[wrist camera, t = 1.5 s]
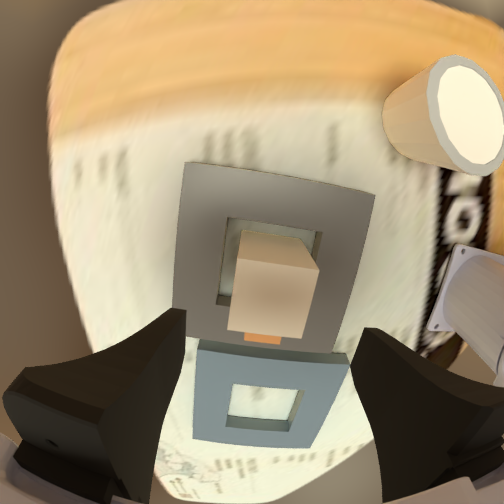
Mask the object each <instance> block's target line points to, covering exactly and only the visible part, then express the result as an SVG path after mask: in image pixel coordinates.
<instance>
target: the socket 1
mask: <svg viewBox="0 0 504 504" xmlns="http://www.w3.org/2000/svg"><path fill="white" fill-rule="evenodd" d="M374 199H375V195H373V194H370V193H367V192H363V191H358V190H354V189H349V188H345V187H340V186H336V185H331V184H326V183H321V182H317V181H311V180H306V179H301V178H296V177H290V176H285V175H279V174H273V173H267V172H261V171H254V170H248V169H241V168H234V167H227V166H219V165H211V164H203V163H194V162H185V165H184V173H183V180H182V189H181V197H180V206H179V216H178V227H177V238H176V250H175V264H174V280H173V299H172V308H177V309H184V310H187V313H186V336H187V337H193V338H199V339H205V340H211V341H217V342H224V343H231V344H238V345H245V346H253V347H262V348H270V349H280V350H290V351H301V352H314V353H328V354H331V352H332V349H333V347H334V344H335V341H336V338H337V335H338V332H339V329H340V326H341V323H342V320H343V317H344V314H345V311H346V308H347V305H348V301H349V298H350V295H351V291H352V288H353V285H354V281H355V278H356V274H357V270H358V267H359V263H360V259H361V255H362V252H363V248H364V244H365V240H366V235H367V231H368V227H369V223H370V218H371V214H372V209H373V204H374ZM228 217H230V218H237V219H243V220H250V221H257V222H263V223H269V224H276V225H282V226H288V227H294V228H300V229H306V230H312V231H317V233H316V238H315V242H314V247H313V252H312V256H311V257H312V258H313V260H314V262H315V263H316V265H317V267H318V268H319V274H318V278H317V282H316V286H315V290H314V294H313V298H312V302H311V306H310V309H309V313H308V317H307V320H306V324H305V328H304V331H303V335H302V338H301V339H299V338H289V337H281V341H280V345H279V344H270V343H261V342H253V341H245V340H244V332H239V331H232V330H227V327H228V319H229V312H230V305H231V298H232V297H227V296H220V295H218V292H219V284H220V276H221V268H222V260H223V252H224V245H225V237H226V230H227V223H228Z"/></svg>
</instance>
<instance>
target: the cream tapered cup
mask: <svg viewBox="0 0 504 504" xmlns="http://www.w3.org/2000/svg"><path fill="white" fill-rule="evenodd" d="M382 120H383V128H384V131H385V133H386V135H387V137H388V139H389V142H390V143H391V144H392V145H393V146H394V148H395V149H396V150H397V151H398V152H399V153H400V154H402V155H404V156H406V157H408V158H410V159H411V160H415V161H420V162H424V163H428V164H432V165H436V166H440V167H444V168H448V169H451V170H455V171H459V172H462V173H466V174H469V175H478V176H487V175H489V174H490V173H492V172H493V171H495V170H497V169H498V168H499V167H500V165H501V163H502V161H503V160H504V101H503V99H502V96H501V93H500V91H499V89H498V88H497V86H496V85H495V83H494V82H493V80H492V79H491V78H490V76H489V75H488V73H487V72H486V71H484V70H483V69H482V68H481V67H480V66H479V65H477V64H476V63H475V62H474V61H472V60H470V59H468V58H465V57H462V56H458V55H451V56H447V57H443V58H440V59H438V60H437V61H435V62H434V63H432V64H431V65H429V66H428V67H426V68H425V69H424V70H422V71H421V72H419V73H418V74H416V75H415V76H413V77H412V78H410V79H409V80H408V81H406V82H405V83H403V84H402V85H400V86H399V87H398V88H396V89H395V90H393V91H392V93H391V94H390V95H389V96H388V97H387V98H386V100H385V102H384V106H383V110H382Z"/></svg>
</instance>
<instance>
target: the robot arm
mask: <svg viewBox="0 0 504 504" xmlns="http://www.w3.org/2000/svg"><path fill="white" fill-rule="evenodd" d="M462 249H463V251H462ZM461 251H462V252H461ZM186 313H187V310H184V309H177V308H170V309H169V310H167V311H166V312H164V313H163V314H162V315H160V316H159V317H158V318H156V319H155V320H154V321H152V322H151V323H150V324H148V325H147V326H145V327H144V328H143V329H141V330H140V331H138V332H136V333H135V334H133V335H132V336H130V337H128V338H127V339H125V340H123V341H121V342H119V343H117V344H115V345H113V346H111V347H109V348H107V349H105V350H102V351H99V352H97V353H94V354H91V355H88V356H86V357H82V358H79V359H76V360H72V361H68V362H63V363H58V364H52V365H45V366H35V367H25V368H24V369H23V370H22V372H21V373H20V374H19V375H18V376H17V377H16V379H15V380H14V381H13V382H12V383H11V385H10V386H9V387H8V388H7V390H6V391H5V392H4V394H3V397H2V399H3V404H4V408H5V410H6V412H7V414H8V416H9V418H10V419H11V421H12V423H13V425H14V426H15V428H16V429H17V431H18V433H19V434H20V436H21V438H22V439H23V440H22V442H21V444H20V445H19V446H18V445H17V444H16V443H15V442H13V441H12V440H11V439H9V438H8V437H6V436H5V435H3V434H2V433H0V504H149V499H150V491H151V484H152V477H153V471H154V465H155V459H156V454H157V449H158V443H159V439H160V434H161V429H162V425H163V421H164V418H165V415H166V412H167V409H168V406H169V404H170V401H171V398H172V395H173V392H174V390H175V387H176V384H177V381H178V379H179V376H180V373H181V369H182V364H183V360H184V355H185V339H186ZM436 324H437V325H436ZM435 325H436V326H435ZM434 326H435V327H434ZM426 327H427V329H428V330H429V331H456V332H457V333H458V334H459V335H460V336H461V337H462V338H463V339H464V340H465V342H466V343H467V344H468V345H469V346H470V347H471V348H472V349H473V350H474V351H475V352H476V353H477V354H478V355H479V356H480V357H481V358H482V359H483V360H484V361H485V362H486V363H487V364H488V366H489V367H490V368H491V369H492V370H493V371H494V372H495V374H496V375H497V377H496V379H495V381H494V383H493V384H494V386H492V385H488V384H483V383H480V382H476V381H473V380H470V379H467V378H465V377H462V376H459V375H457V374H454V373H452V372H450V371H448V370H446V369H444V368H442V367H440V366H438V365H436V364H434V363H432V362H431V361H429V360H427V359H426V358H424V357H422V356H421V355H419V354H417V353H416V352H414V351H413V350H411V349H410V348H408V347H407V346H405V345H404V344H402V343H401V342H399V341H398V340H396V339H395V338H393V337H392V336H390V335H389V334H387V333H385V332H384V331H382V330H380V329H378V328H365V327H364V330H363V333H362V336H361V338H360V341H359V344H358V347H357V349H356V352H355V354H354V357H353V360H352V362H351V365H350V368H351V373H352V377H353V381H354V385H355V388H356V391H357V393H358V396H359V398H360V401H361V403H362V406H363V408H364V410H365V413H366V415H367V418H368V421H369V423H370V426H371V429H372V432H373V436H374V440H375V444H376V449H377V454H378V459H379V465H380V473H381V482H382V499H383V503H382V504H504V450H503V449H502V447H501V445H503V443H504V439H503V438H502V435H503V434H504V256H503V255H499V254H496V253H492V252H488V251H485V250H481V249H478V248H474V247H470V246H466V245H462V244H456V245H455V246H454V248H453V251H452V255H451V258H450V262H449V265H448V268H447V271H446V274H445V277H444V280H443V283H442V286H441V289H440V292H439V295H438V297H437V300H436V303H435V305H434V308H433V310H432V313H431V315H430V318H429V320H428V323H427V326H426Z"/></svg>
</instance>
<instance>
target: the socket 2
mask: <svg viewBox="0 0 504 504" xmlns="http://www.w3.org/2000/svg"><path fill="white" fill-rule="evenodd" d="M349 367H350V363H349V360H348V358H347V356H346V354H339V353H331V354H328V353H314V352H301V351H290V350H280V349H270V348H262V347H253V346H245V345H238V344H231V343H224V342H217V341H211V340H205V339H200V341H199V345H198V348H197V360H196V375H195V393H194V414H193V439H198V440H204V441H210V442H217V443H225V444H234V445H244V446H255V447H271V448H310V447H311V445H312V443H313V441H314V440H315V438H316V436H317V434H318V432H319V430H320V428H321V426H322V424H323V422H324V421H325V419H326V417H327V415H328V413H329V410H330V408H331V406H332V404H333V402H334V400H335V398H336V396H337V394H338V392H339V389H340V387H341V385H342V383H343V380H344V378H345V376H346V374H347V371H348V369H349ZM232 384H241V385H249V386H259V387H269V388H281V389H296V390H299V391H298V394H297V397H296V399H295V402H294V405H293V407H292V410H291V413H290V415H289V418H288V420H287V421H282V420H266V419H254V418H244V417H235V416H227V414H228V408H229V402H230V396H231V390H232Z"/></svg>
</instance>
